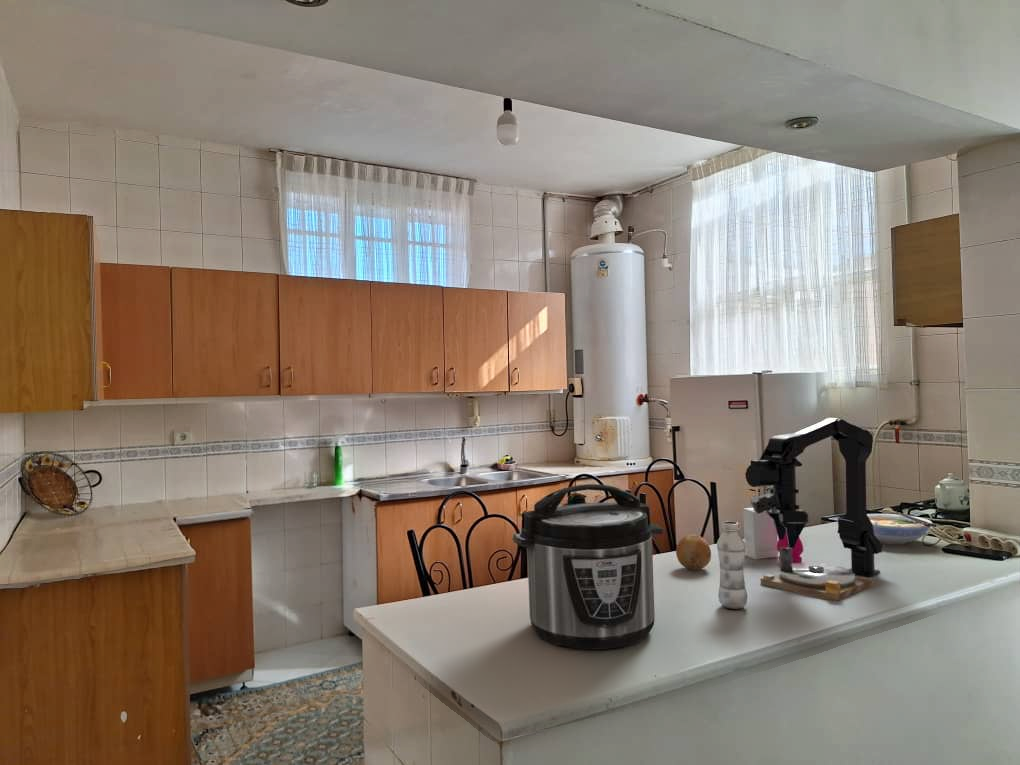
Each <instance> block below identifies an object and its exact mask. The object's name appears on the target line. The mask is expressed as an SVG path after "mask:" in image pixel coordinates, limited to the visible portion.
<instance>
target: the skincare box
mask: <svg viewBox="0 0 1020 765" xmlns="http://www.w3.org/2000/svg"><path fill="white" fill-rule="evenodd" d="M742 512H743V533H744V536H743V537H744V539H743V541H744V543H745V556H747V557H749V558H751V559H753V560H760V559H768V558H770V559H771V558H779V552H778V550H777V543H778V540H779V538H778V535H777V531H776V528H775V525H774V521H773V519H772V518H771V517H770V516H769V515H768V514H767V513H766V512H767V511H764V512H762V513H757V512H755V511H754V509H753V507H746V508H745V507H744V508H743V510H742Z"/></svg>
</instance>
